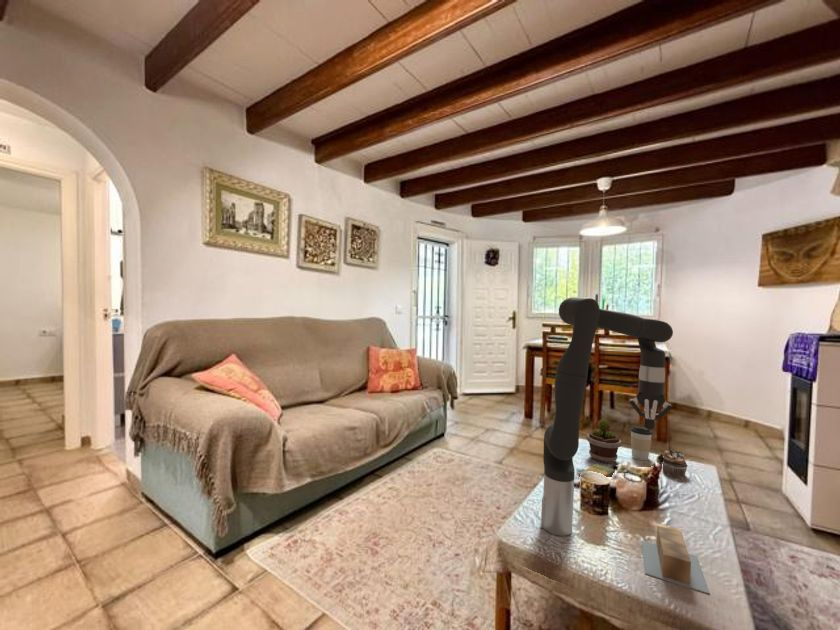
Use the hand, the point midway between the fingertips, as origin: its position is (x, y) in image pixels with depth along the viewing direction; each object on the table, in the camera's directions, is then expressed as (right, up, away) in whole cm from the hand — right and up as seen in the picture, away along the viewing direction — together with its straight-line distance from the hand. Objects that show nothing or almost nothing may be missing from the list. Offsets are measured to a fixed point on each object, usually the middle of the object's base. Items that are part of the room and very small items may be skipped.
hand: (648, 429), depth 126 cm
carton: (-5, -31, +28) cm, 41 cm away
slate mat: (-8, -31, -23) cm, 40 cm away
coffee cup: (+29, -30, +53) cm, 67 cm away
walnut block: (-3, -28, -15) cm, 32 cm away
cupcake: (+33, -31, +36) cm, 58 cm away
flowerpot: (+9, -30, +49) cm, 58 cm away
